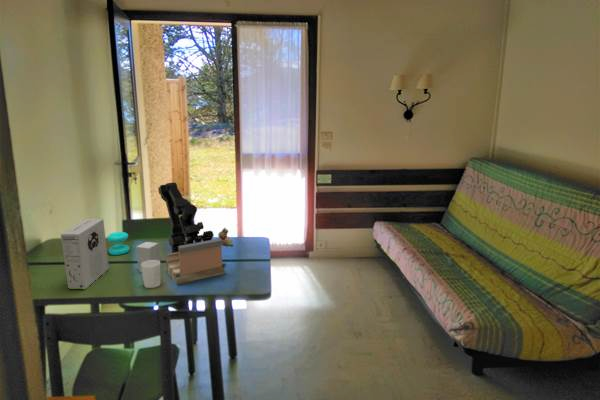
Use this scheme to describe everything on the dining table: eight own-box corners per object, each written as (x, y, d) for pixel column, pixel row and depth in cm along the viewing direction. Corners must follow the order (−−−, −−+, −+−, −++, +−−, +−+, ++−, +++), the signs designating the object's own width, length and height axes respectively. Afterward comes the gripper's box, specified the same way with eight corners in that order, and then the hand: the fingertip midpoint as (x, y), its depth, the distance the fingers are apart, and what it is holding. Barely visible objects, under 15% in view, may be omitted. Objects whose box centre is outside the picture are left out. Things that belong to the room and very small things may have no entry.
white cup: (145, 281, 190) (143, 260, 188) (163, 280, 191) (162, 259, 188) (140, 289, 182) (138, 267, 180) (159, 288, 183) (157, 266, 181)
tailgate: (180, 274, 186) (178, 246, 183) (221, 265, 196) (220, 238, 193) (182, 276, 184) (180, 248, 181) (223, 267, 194) (222, 240, 191)
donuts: (105, 233, 222) (125, 229, 228) (107, 251, 225) (127, 247, 230) (109, 238, 214) (130, 235, 220) (111, 257, 217) (131, 253, 222)
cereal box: (93, 269, 202) (87, 218, 196) (109, 269, 202) (103, 218, 196) (68, 290, 181) (60, 233, 175) (85, 290, 181) (78, 234, 175)
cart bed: (166, 271, 200) (164, 254, 198) (212, 261, 212) (211, 245, 209) (177, 286, 185) (175, 267, 183) (226, 274, 197) (225, 257, 195)
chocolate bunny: (226, 241, 240) (225, 224, 237) (234, 245, 234) (233, 227, 232) (217, 243, 236) (217, 226, 234) (225, 247, 231) (224, 230, 228)
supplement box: (161, 268, 204) (159, 242, 201) (151, 274, 197) (149, 248, 194) (148, 266, 206) (146, 241, 203) (138, 271, 200) (135, 246, 196)
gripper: (170, 220, 189) (180, 251, 182) (211, 213, 198) (221, 243, 192) (167, 232, 197) (175, 262, 190) (206, 225, 207) (215, 254, 200)
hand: (197, 255), depth 193 cm, fingers closed
